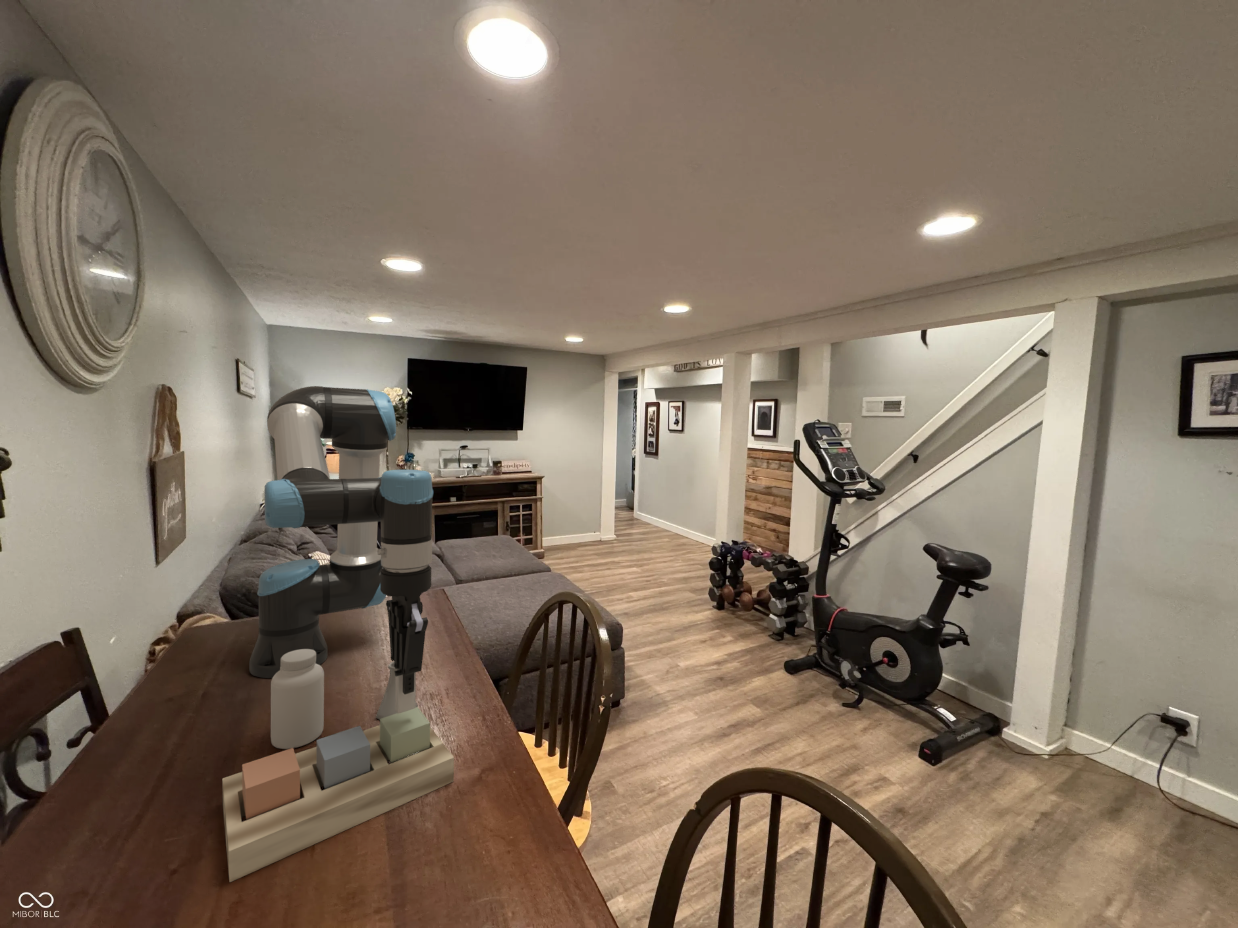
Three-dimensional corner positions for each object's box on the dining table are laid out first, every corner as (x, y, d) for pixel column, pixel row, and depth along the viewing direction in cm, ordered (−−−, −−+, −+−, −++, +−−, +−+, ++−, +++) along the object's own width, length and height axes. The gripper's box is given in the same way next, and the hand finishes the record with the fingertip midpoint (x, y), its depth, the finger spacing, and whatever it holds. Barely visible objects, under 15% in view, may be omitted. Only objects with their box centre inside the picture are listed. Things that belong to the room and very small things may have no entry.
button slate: (316, 766, 75) (316, 739, 75) (359, 750, 79) (359, 725, 79) (324, 788, 70) (324, 760, 70) (370, 770, 74) (370, 744, 74)
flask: (401, 726, 92) (402, 674, 91) (368, 720, 93) (368, 669, 93) (424, 705, 99) (425, 657, 98) (392, 700, 100) (393, 653, 100)
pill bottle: (334, 728, 90) (334, 649, 89) (292, 755, 83) (292, 669, 82) (302, 719, 93) (302, 642, 92) (259, 744, 85) (258, 660, 84)
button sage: (379, 743, 81) (379, 718, 81) (417, 729, 85) (417, 706, 84) (391, 762, 76) (391, 736, 76) (429, 747, 80) (430, 722, 80)
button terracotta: (242, 793, 69) (242, 764, 69) (293, 774, 73) (293, 747, 73) (246, 819, 64) (245, 788, 64) (300, 798, 68) (299, 769, 68)
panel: (222, 804, 72) (222, 778, 71) (418, 732, 90) (418, 711, 90) (229, 882, 60) (228, 851, 59) (453, 781, 78) (454, 757, 78)
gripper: (369, 561, 81) (369, 699, 82) (394, 579, 71) (393, 736, 73) (416, 555, 86) (415, 685, 87) (445, 571, 76) (443, 718, 78)
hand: (405, 708), depth 80 cm, fingers closed
